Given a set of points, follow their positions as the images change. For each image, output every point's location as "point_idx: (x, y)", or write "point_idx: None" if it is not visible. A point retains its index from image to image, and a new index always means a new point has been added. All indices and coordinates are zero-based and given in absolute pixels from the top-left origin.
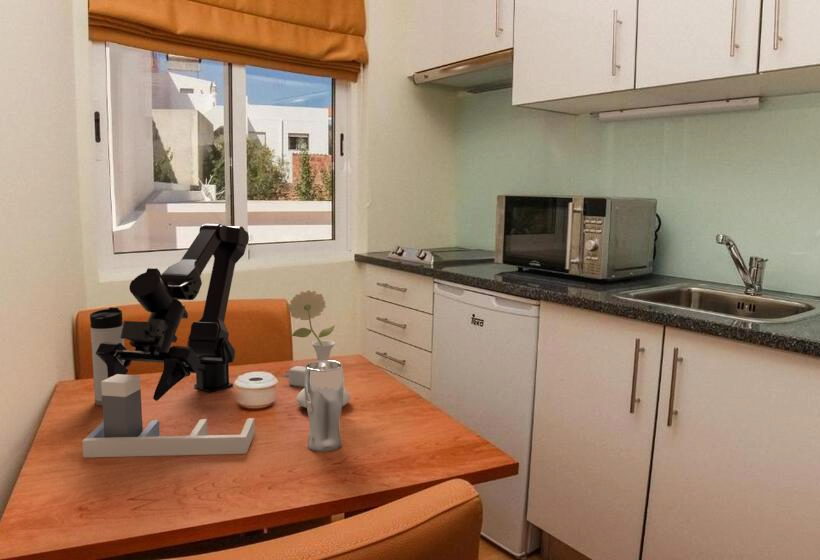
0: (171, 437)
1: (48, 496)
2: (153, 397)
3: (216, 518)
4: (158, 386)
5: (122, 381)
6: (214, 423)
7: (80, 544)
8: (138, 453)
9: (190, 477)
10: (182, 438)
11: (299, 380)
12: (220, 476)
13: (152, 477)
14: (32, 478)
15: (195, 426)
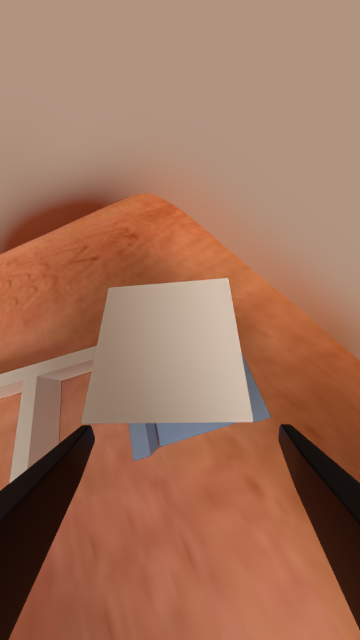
0: (69, 360)
1: (180, 241)
2: (86, 425)
3: (10, 253)
4: (42, 466)
5: (129, 302)
6: (34, 592)
7: (105, 207)
8: None
9: (45, 308)
10: (47, 360)
11: None
12: (9, 319)
13: (91, 297)
14: (232, 262)
15: (30, 432)
